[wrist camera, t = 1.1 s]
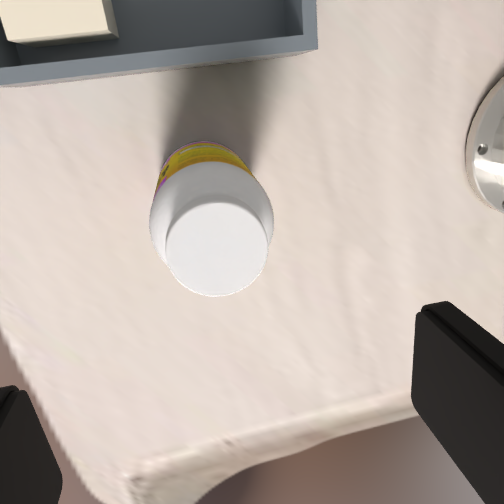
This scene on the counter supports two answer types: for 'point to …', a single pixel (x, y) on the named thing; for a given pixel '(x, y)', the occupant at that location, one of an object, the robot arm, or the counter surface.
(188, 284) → the supplement bottle
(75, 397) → the counter surface
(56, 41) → the cream rectangular box
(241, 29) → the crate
